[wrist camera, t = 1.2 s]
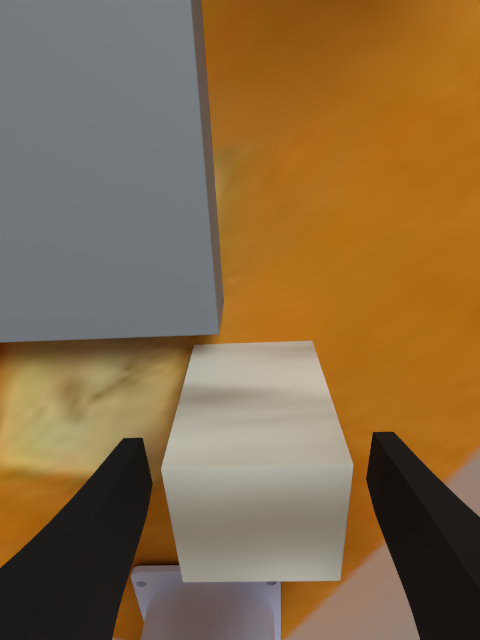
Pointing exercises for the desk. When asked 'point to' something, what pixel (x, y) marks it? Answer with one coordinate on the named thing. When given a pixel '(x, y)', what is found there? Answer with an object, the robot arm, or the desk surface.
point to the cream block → (257, 467)
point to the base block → (106, 172)
